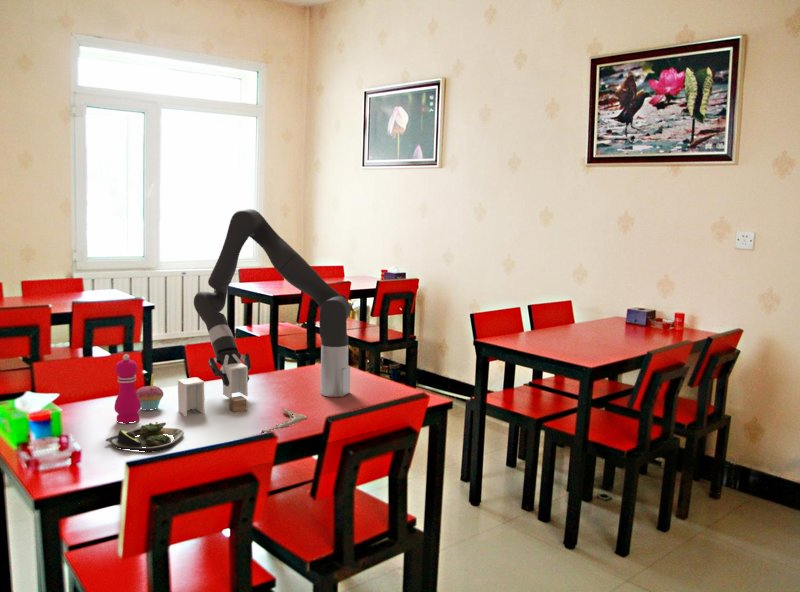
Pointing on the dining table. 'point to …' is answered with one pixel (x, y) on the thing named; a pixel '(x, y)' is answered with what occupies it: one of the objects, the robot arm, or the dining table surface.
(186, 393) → the hood empty
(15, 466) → the dining table surface
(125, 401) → the pepper mill
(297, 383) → the dining table surface
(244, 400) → the walnut cube
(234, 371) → the hood cube
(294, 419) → the jawbone
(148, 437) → the salad plate
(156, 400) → the cupcake
